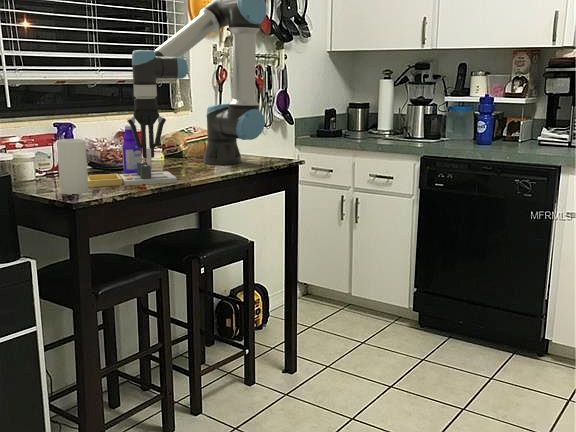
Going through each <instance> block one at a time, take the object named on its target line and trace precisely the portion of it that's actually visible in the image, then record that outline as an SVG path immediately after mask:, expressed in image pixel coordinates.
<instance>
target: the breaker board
mask: <svg viewBox="0 0 576 432" xmlns="http://www.w3.org/2000/svg"><path fill="white" fill-rule="evenodd" d="M118 175H119V176H120V177H121V178H122V185H124V186H125V187H126V186H127V187H128V186H139V185H140V186H141V185H142V186H143V184H145V185H155V184H157V183H160V184H170V183H169V182H176V183H178V178H177V177H176V176H175V175H174V174H172V173H171V172H169V171H154V172H153V171H151V178H146V179H142V178H141V175H138V174H137V173H131V174H125V173H119V174H118Z"/></svg>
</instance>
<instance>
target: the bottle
mask: <svg viewBox="0 0 576 432" xmlns="http://www.w3.org/2000/svg"><path fill="white" fill-rule="evenodd" d="M135 127H136V130H137V125H136V124H135ZM138 137H139V138H140V136H139V135H138ZM122 140H123V143H122V159H123V160H122V161H123V174H131V173H137V162H143V161H142V148H140V147H138V146H137V145H136V142H135V139H134V136H133V132H132V129H131V126H130V124H126V125H124V134H123V137H122Z"/></svg>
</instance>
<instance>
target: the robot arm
mask: <svg viewBox="0 0 576 432" xmlns="http://www.w3.org/2000/svg"><path fill="white" fill-rule="evenodd" d="M267 10H268V8H267V4H266V1H265V0H211V2H209V3H208V4H207V5H206V6H203V8H202V9H201V10H199V14H198V16H196V17H195V18H194V19H192V20H191V21H189V23H187V24H186V25H185V26H184V27H182V28H181V29H180V30H179V31H177V32H176V33H175V34H173V35H172V36H171V37H169V38H168V39H167V40H166V41H164V42H163V43H162V44H161V45H159V46H158V47H157V48H156V49H154V50H148V49H147V50H146V49H138V50H137V49H136V50H133V51H132V53H131V54H132V55H131V66H132V82H133V97H134V100H133V101H134V104H133V105H134V112H133V116H132V117H130V118H128V119H127V121H126V122H127V123H128V125H130V126H131V129H132V132H133V136H134V139H135V142H136V145H137V146H138V147H140V148H141V157H142V158H143V159H145V162H146V163H147V165H150V166H151V169H152V167H153V165H152V164H153V163H152V158H155V148H157V147H159V146H160V143H161V138H162V132H163V127H164V125H165V124H166V121H167V119H166V118H164V117H163V116H161V115H160V113H159V111H158V99H157V97H158V93H157V92H158V91H157V80H180V79H181V80H183V79H184V78H186V76H187V75H188V71H189V69H188V68H189V67H188V66H189V65H188V62H187V60H186V59H185V58H184V57H183V56H184V55H185V54H186V53H188V52H189V51H190V50H192V48H194V47H195V46H196V45H198V43H200V42H201V41H202V40H203V39H205V38H206V37H207V36H209V35H210V34H212V33H216V32H218V31H220V30H221V29H222V28H225V27H228V30H229V31H230V32H231V34H232V98H231V100H230V101H229V102H228V103H222V104H211V105H209V106H208V107H207V109H206V125H207V126H206V128H207V129H206V132H207V136H206V137H207V143H206V144H207V145H206V147H205V151H204V154H203V163H204V164H206V165H207V164H208V165H215V166H216V165H222V166H223V165H225V166H226V165H236V164H240V163H241V162H242V154H241V153H240V149H239V147H238V141H237V139H238V140H242V141H251V140H252V141H253V140H256V139H257V138H259V136H260V135H261V134H262V133H263V131H264V128H265V124H266V123H265V120H266V119H265V116H264V114H263V113H262V111H260V104H259V102H258V101H257V100H256V58H257V57H256V56H257V55H256V52H257V49H256V48H257V46H256V45H257V44H256V42H257V40H256V39H257V34H258V33H259V32H260V30H261V23H262V22H264V21H265V20H264V19H265V18H266V16H267V12H268V11H267ZM136 122H137V123H138V124H139V125H140V136H139V134H138V131H137V130H136V128H137V126H136V127H135V125H136ZM156 122H158V124H157V129H156V134H155V135H154V125H155V123H156ZM147 129H148V145H149V147H147V133H146V132H147V131H146V130H147ZM138 136H139V137H138ZM154 136H155V137H154ZM140 139H141V140H140Z"/></svg>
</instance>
